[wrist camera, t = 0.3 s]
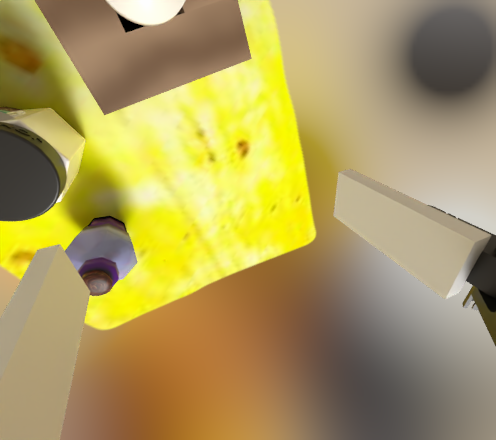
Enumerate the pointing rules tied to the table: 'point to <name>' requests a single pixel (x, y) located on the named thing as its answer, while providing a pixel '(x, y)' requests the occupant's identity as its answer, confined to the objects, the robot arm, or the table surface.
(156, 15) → the peg
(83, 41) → the socket
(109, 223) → the potion bottle
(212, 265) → the table surface
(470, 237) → the robot arm
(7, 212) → the jar
